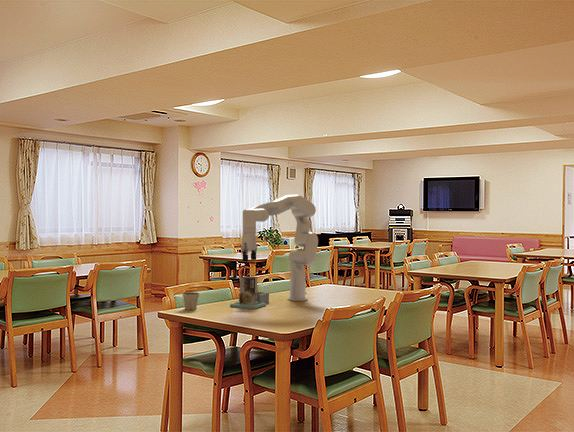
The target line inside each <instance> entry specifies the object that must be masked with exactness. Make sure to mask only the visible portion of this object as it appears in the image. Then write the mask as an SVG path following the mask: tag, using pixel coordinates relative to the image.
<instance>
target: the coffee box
mask: <svg viewBox="0 0 574 432" xmlns="http://www.w3.org/2000/svg"><path fill="white" fill-rule="evenodd" d="M257 292H258V276H241V277H239V293H240V304H242V305H253V306H255V305H257Z"/></svg>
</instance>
